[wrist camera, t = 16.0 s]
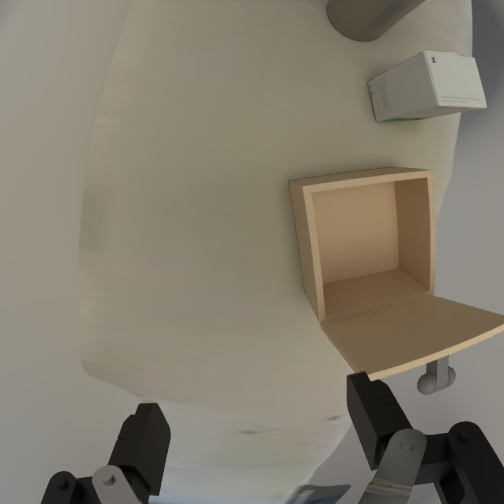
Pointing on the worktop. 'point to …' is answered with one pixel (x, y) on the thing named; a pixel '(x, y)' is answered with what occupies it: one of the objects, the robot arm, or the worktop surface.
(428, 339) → the lid flap
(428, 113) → the skincare box
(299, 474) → the worktop surface
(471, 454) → the robot arm
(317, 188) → the carton
